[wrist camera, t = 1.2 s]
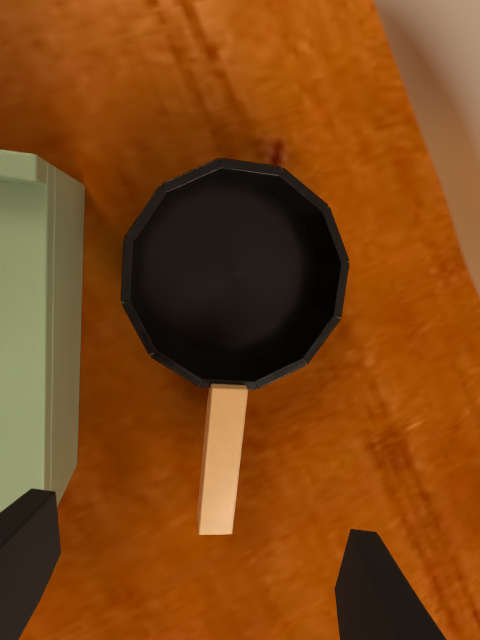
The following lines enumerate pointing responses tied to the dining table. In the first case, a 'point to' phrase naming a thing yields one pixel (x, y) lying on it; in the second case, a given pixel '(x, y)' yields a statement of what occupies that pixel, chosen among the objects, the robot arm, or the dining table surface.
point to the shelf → (39, 324)
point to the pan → (232, 296)
